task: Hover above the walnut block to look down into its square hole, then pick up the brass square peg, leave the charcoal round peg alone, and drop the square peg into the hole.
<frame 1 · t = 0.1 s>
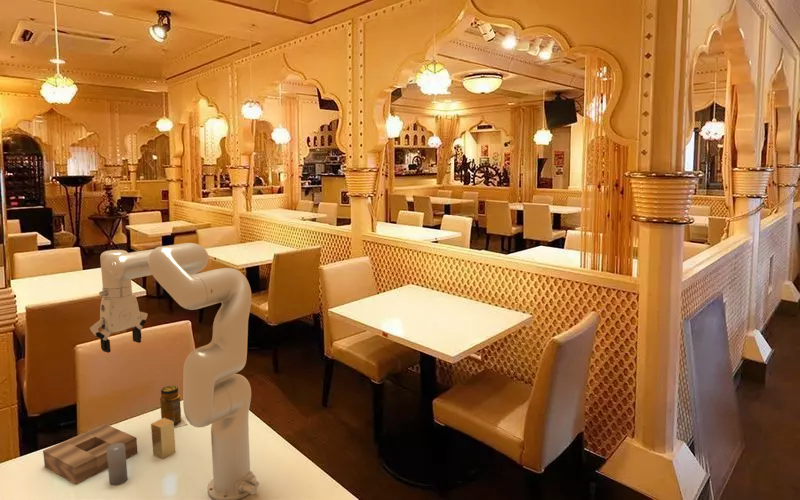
hand: (122, 346, 158), 31 cm above the table, tool pointing down, fingers open, 9 cm apart
condiment: (171, 423, 175), on the table
square peg: (164, 453, 157), on the table
round peg: (118, 480, 143), on the table
socket block: (92, 459, 153), on the table
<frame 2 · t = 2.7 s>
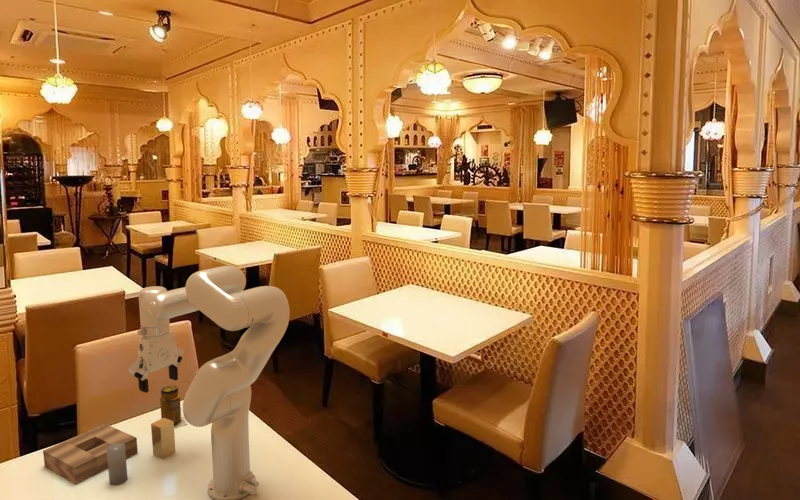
hand: (159, 385, 153), 22 cm above the table, tool pointing down, fingers open, 9 cm apart
nothing on the table moved.
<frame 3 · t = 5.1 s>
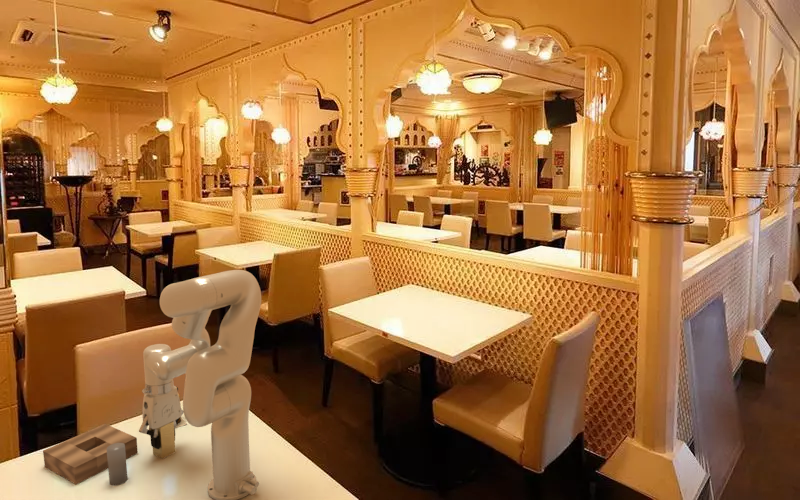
hand: (163, 442, 156), 3 cm above the table, tool pointing down, fingers closed on square peg, 4 cm apart
square peg: (164, 453, 157), on the table, touching gripper
everything else where it was.
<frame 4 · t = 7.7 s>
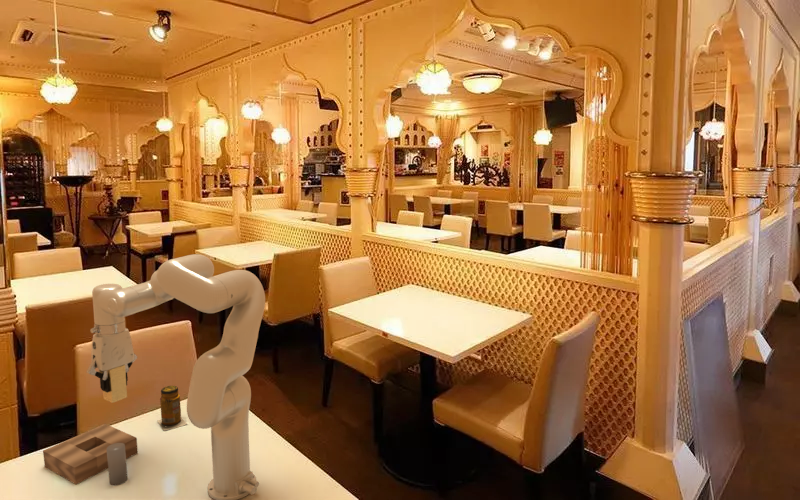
hand: (114, 387, 151), 22 cm above the table, tool pointing down, fingers closed on square peg, 4 cm apart
square peg: (115, 398, 151), point 19 cm above the table, touching gripper
everything else where it was.
when the fingers open (6 cm above the table, at t = 10.7 s): square peg drops 3 cm, resting in socket block.
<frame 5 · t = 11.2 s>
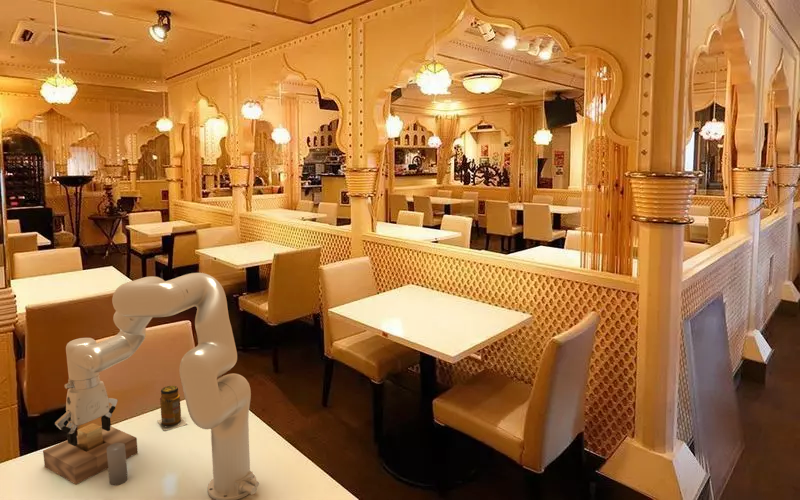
hand: (90, 436, 152), 7 cm above the table, tool pointing down, fingers open, 9 cm apart
square peg: (92, 459, 153), resting in socket block
everything else where it was.
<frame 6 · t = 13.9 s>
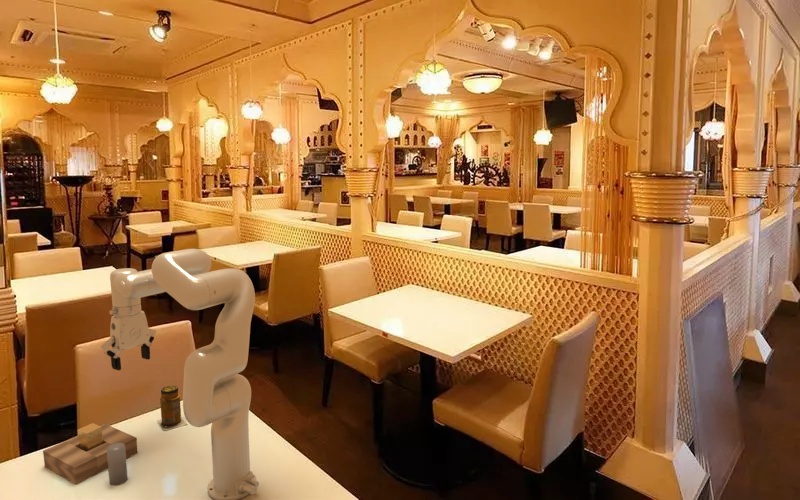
hand: (131, 363, 159), 26 cm above the table, tool pointing down, fingers open, 9 cm apart
nothing on the table moved.
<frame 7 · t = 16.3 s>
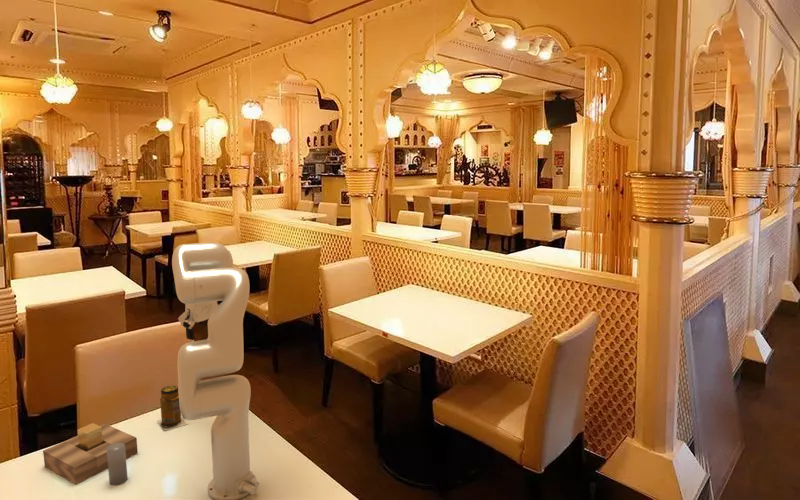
hand: (202, 335, 177), 28 cm above the table, tool pointing down, fingers open, 9 cm apart
nothing on the table moved.
at the end: square peg 0.0 cm off-centre on the socket block, point 0.0 cm above the socket block's base; square peg tilted 0°; round peg moved 0.0 cm from its start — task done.
